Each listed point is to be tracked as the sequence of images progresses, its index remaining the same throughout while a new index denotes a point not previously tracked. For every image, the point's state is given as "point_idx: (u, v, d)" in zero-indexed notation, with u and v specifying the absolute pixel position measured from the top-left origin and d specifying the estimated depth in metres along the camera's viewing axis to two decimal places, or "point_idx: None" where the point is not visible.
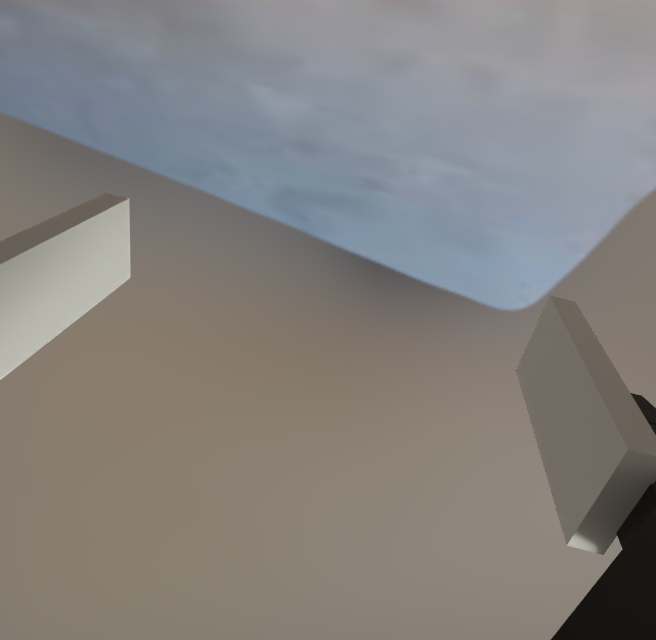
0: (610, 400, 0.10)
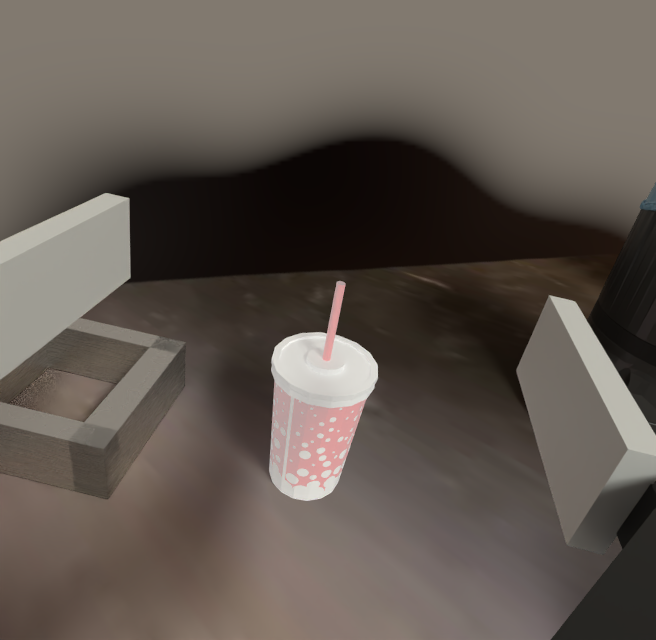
0: (610, 400, 0.10)
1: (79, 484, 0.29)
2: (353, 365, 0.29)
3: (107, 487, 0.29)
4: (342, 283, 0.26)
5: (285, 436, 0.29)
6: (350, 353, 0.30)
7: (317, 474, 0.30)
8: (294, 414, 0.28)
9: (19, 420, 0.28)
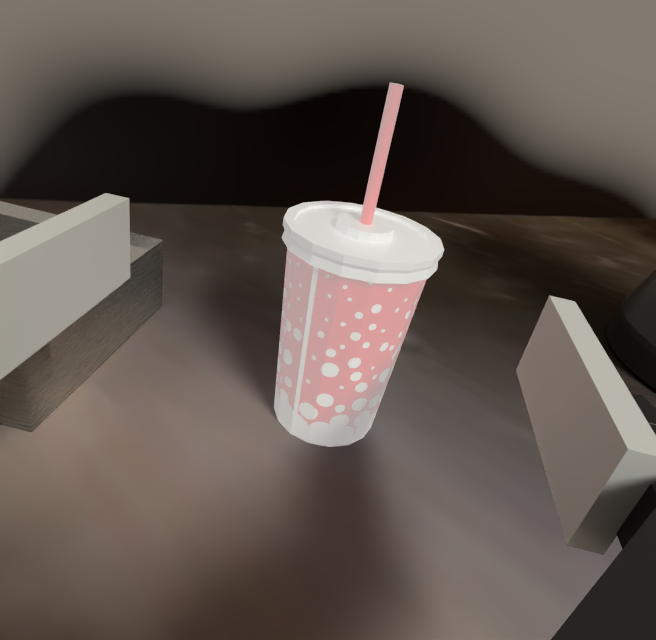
0: (610, 400, 0.10)
1: None
2: (405, 237, 0.20)
3: (29, 412, 0.19)
4: (399, 84, 0.17)
5: (301, 341, 0.19)
6: (398, 226, 0.21)
7: (345, 404, 0.20)
8: (317, 300, 0.18)
9: None
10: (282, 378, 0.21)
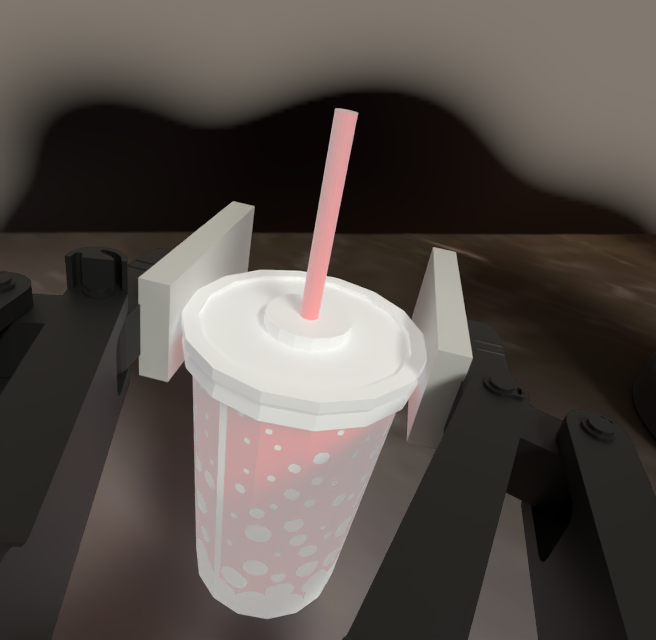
0: (444, 319, 0.12)
1: None
2: (370, 332, 0.13)
3: None
4: (350, 111, 0.10)
5: (214, 491, 0.13)
6: (362, 310, 0.14)
7: (286, 572, 0.14)
8: (230, 444, 0.12)
9: None
10: (198, 525, 0.15)
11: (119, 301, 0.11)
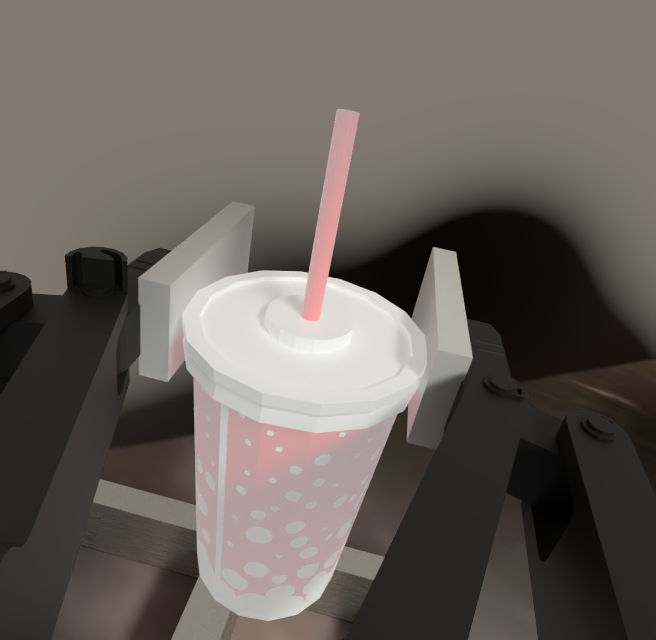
0: (444, 319, 0.12)
1: None
2: (372, 333, 0.13)
3: None
4: (351, 112, 0.10)
5: (215, 492, 0.13)
6: (363, 311, 0.14)
7: (288, 574, 0.14)
8: (231, 445, 0.12)
9: None
10: (199, 527, 0.15)
11: (119, 301, 0.11)
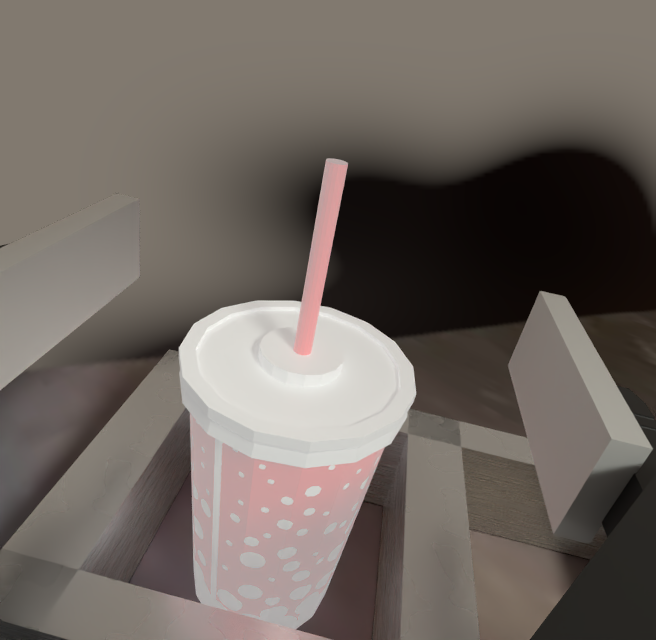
0: (596, 391, 0.11)
1: None
2: (362, 365, 0.14)
3: None
4: (340, 162, 0.11)
5: (210, 519, 0.13)
6: (354, 342, 0.15)
7: (280, 596, 0.14)
8: (225, 476, 0.12)
9: None
10: (195, 549, 0.15)
11: None
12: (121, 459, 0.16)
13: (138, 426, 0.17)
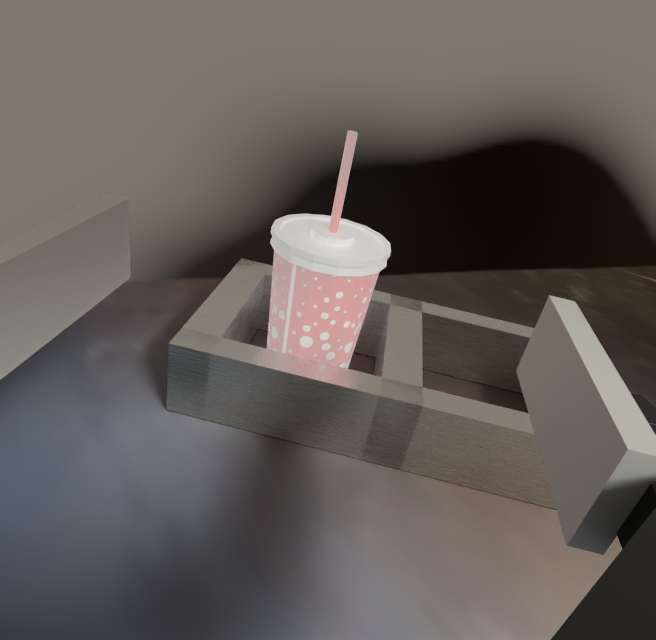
0: (610, 400, 0.10)
1: None
2: (363, 241, 0.26)
3: None
4: (354, 132, 0.23)
5: (284, 320, 0.26)
6: (359, 233, 0.27)
7: None
8: (295, 289, 0.24)
9: (526, 425, 0.23)
10: None
11: None
12: (229, 302, 0.28)
13: (233, 290, 0.29)
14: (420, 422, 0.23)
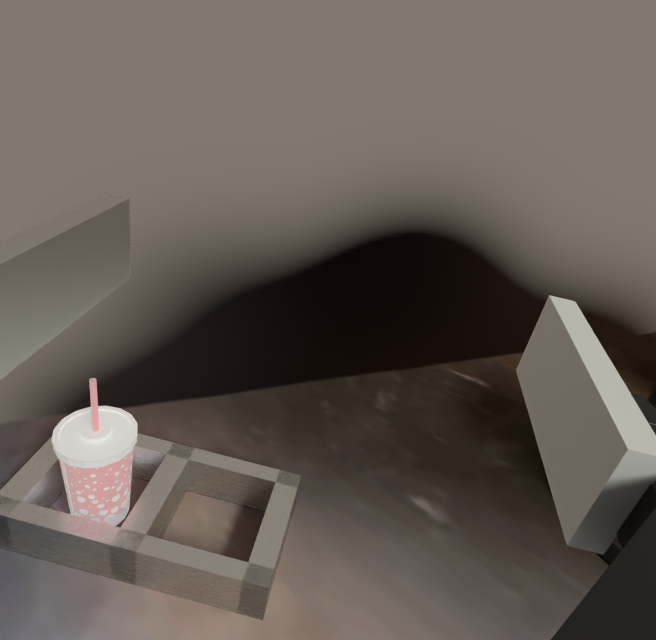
0: (610, 400, 0.10)
1: (241, 608, 0.38)
2: (118, 433, 0.40)
3: (264, 611, 0.38)
4: (93, 380, 0.37)
5: (66, 485, 0.40)
6: (122, 423, 0.41)
7: (95, 513, 0.41)
8: (66, 471, 0.38)
9: (202, 562, 0.37)
10: (67, 498, 0.41)
11: None
12: (41, 465, 0.42)
13: (50, 452, 0.43)
14: (137, 560, 0.37)
